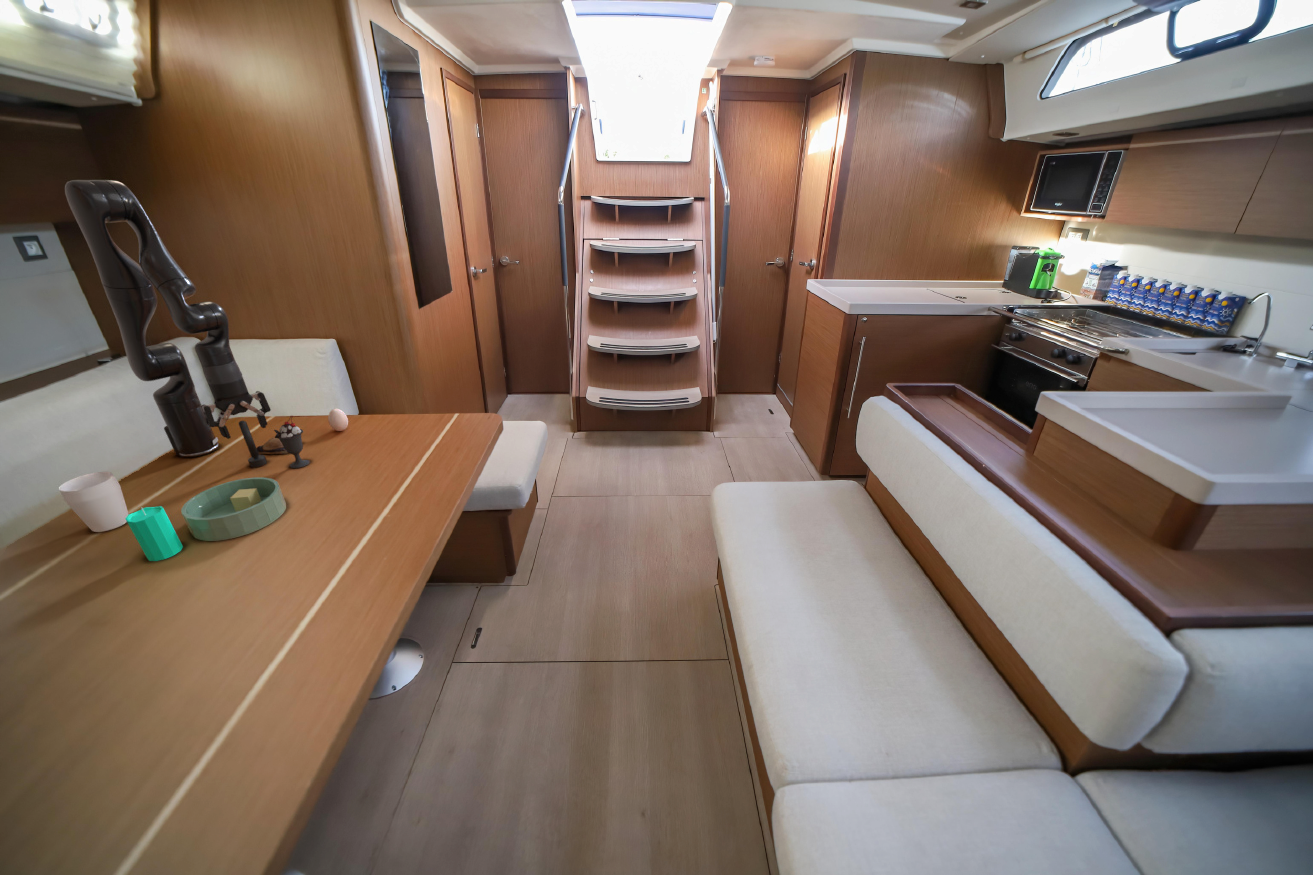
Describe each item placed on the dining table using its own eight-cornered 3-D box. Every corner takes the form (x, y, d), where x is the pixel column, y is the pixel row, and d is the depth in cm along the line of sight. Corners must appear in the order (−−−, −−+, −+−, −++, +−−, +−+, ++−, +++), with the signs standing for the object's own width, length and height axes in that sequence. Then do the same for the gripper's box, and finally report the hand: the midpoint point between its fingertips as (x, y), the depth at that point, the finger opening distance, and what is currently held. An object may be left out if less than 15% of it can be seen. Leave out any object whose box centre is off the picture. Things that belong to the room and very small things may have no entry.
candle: (189, 547, 113) (167, 502, 107) (158, 563, 107) (133, 517, 102) (171, 541, 114) (149, 497, 109) (140, 557, 109) (114, 512, 104)
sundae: (318, 459, 150) (303, 413, 143) (302, 470, 144) (285, 423, 137) (298, 458, 150) (282, 412, 144) (280, 469, 144) (263, 422, 138)
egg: (348, 433, 166) (341, 411, 163) (329, 435, 165) (322, 413, 161) (352, 426, 171) (346, 405, 167) (334, 428, 170) (327, 406, 166)
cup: (144, 518, 122) (121, 476, 117) (95, 539, 115) (68, 495, 109) (125, 509, 125) (102, 468, 120) (76, 529, 118) (50, 486, 113)
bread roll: (304, 442, 160) (301, 432, 158) (287, 454, 152) (283, 444, 151) (270, 442, 160) (266, 432, 158) (252, 454, 152) (247, 444, 150)
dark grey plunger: (247, 467, 145) (229, 424, 139) (254, 461, 148) (237, 418, 142) (262, 466, 145) (245, 423, 139) (269, 460, 149) (253, 417, 143)
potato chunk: (235, 511, 124) (229, 498, 122) (244, 502, 128) (238, 489, 126) (253, 510, 125) (247, 496, 123) (261, 501, 128) (256, 488, 126)
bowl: (171, 545, 113) (160, 523, 110) (221, 500, 130) (212, 480, 127) (262, 536, 116) (253, 515, 113) (299, 493, 133) (292, 474, 130)
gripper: (250, 369, 142) (269, 421, 149) (187, 383, 132) (210, 438, 139) (260, 374, 139) (280, 427, 146) (196, 388, 128) (220, 445, 135)
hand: (246, 432), depth 142 cm, fingers open, 8 cm apart
